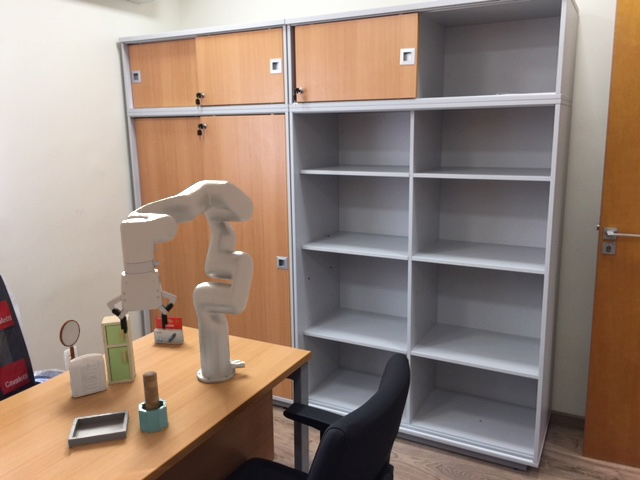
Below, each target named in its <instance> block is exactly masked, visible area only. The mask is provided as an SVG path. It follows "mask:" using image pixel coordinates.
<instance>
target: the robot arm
mask: <svg viewBox="0 0 640 480" xmlns="http://www.w3.org/2000/svg"><path fill="white" fill-rule="evenodd" d="M254 211H255V205H254V202H253V200H252V198H251V197H250V196H249V194H246V192H244V191H243V190H242V189H241V188H240V187H238V186H237V185H236V184H234V183H232V182H230V181H226V180H201V181H198V182H196V183H194V184H193V185H191V186H190V187H187V188H186V189H184V190H183V191H182V192H179V193H178V194H175V195H174V196H170V197H166V198H163V199H159V200H156V201H153V202H150V203H147V204H144V205H143V206H140V207H139V208H137V209H135V210H134V211H132V212H131V213H130V214H129V215H128V216H127V217H126V219H124V220H123V221H122V222H121V223H120V226H119V230H120V231H119V232H120V241H121V251H122V259H123V263H122V264H123V271H122V272H121V277H120V279H121V280H120V294H119V295H117V296H115V297H114V298H112V299H111V300H109V301H107V303H106V306H107V307H108V308H109V310H110V312H111V313H112V315H113V316H117V317H118V318H119V319H120V324H121V330H124V334H126V333H127V330H128V327H127V317H126V314H127V313H128V312H138V311H149V310H157V309H158V310H159V311H160V314H161V316H160V317H161V318H162V329H165V325H168V322H169V319H167V317H168V313H169V312H170V311H171V310H172V309H173V307H174V305H175V304H176V301H177V299H178V297H177V295H176V294H173V293H171V292H168V291H165V290H164V289H163V288H162V280H161V276H160V273H159V269H157V267H161V260H156V259H155V253H154V244H164V243H168V242H171V241H172V240H174V239H175V237H177V234H178V232H179V225H180V224H184V223H185V224H186V223H190V222H192V221H195V219H197V218H198V217H199V216H201V215H202V214H204V217H205V218H206V220H207V223H208V225H209V228H210V240H209V245H208V250H207V253H206V257H205V258H206V259H205V264H204V273H205V274H206V276H207V277H209V278H211V279H216V280H224V281H231V283H226V282H215V281H206V282H205V281H204V282H201V283H199V284H197V286H195V288H194V289H193V292H192V301H193V306H194V309H195V310H194V311H195V313H196V318H197V325H198V340H199V342H198V343H199V354H200V356H199V358H200V369H198V370H197V372H196V378H197V379H198V381H201V382H202V383H207V384H218V383H223V382H227V381H229V380H231V379H232V378H233V377H235V375H236V371H237V370H236V369H244V368H246V363H245V361H241V360H240V359H237V360H233V359H232V358H231V352H230V350H231V349H230V336H229V335H230V333H229V332H230V331H229V322H228V318H227V316H226V315H236V316H237V315H240V314H242V313H243V312H244V311H245V310H246V307H247V305H248V301H249V296H250V291H251V285H252V282H253V281H252V280H253V275H254V267H255V265H254V259H253V258H252V256H251V254H250V253H248V252H246V251H240V250H236V246H237V241H238V237H237V234H236V233H237V232H236V231H235V229H234V227H233V226H232V224H231V222H233V223H234V222H235V223H247V222H248V221H251V219H252V218H253V216H254V214H255V212H254ZM164 298H166V299H168V300H169V303H167V304H166V305H165V304H164V303H163V302H164V301H163V300H164ZM120 302H121V308H122V309H121V310H120V309H118V308H117V307H116V304H118V303H120Z"/></svg>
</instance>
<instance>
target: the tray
mask: <svg viewBox="0 0 640 480" xmlns="http://www.w3.org/2000/svg"><path fill="white" fill-rule="evenodd" d="M129 412H130V411H129V410H122V411H114V412H108V413H100V414H93V415H87V416H80V417H75V418H74V419H73V423H72V425H71V429H70V432H69V436H68V439H67V443H68V449H69V450H70V449H71V450H72V449H73V448H74V447H80V446H85V445H93V444H99V443H100V444H101V443H104V442H105V443H106V442H111V441H117V440H124V439H125V440H126V439H127V438H128V437H127V435H128V431H129V420H130V413H129Z"/></svg>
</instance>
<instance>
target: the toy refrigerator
mask: <svg viewBox="0 0 640 480" xmlns="http://www.w3.org/2000/svg"><path fill="white" fill-rule="evenodd" d="M126 317H127V327H128V330H127V333H126V334H124V330H121V324H120V319H119V318H118V317H117V316H116V315H107V316H104V317H103V319H102V320H101V333H102V334H101V335H102V342H103V350H104V357H105V359H104V360H105V366H106V367H105V368H106V373H107V374H106V376H107V382H108V385H118V384H126V383H134V381H135V378H136V372H137V371H136V364H135V354H134V347H133V337H132V327H131V319H130V314H126Z"/></svg>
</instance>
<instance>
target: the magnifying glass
mask: <svg viewBox="0 0 640 480" xmlns="http://www.w3.org/2000/svg"><path fill="white" fill-rule="evenodd" d="M59 330H60V331H59V341H60V343H61V345H63V346H64V347H67V348H69V351H70V353H69V354H70V361H71V360H72V359H74V358H76V356H75V355H76V353H75V347H74V345H75V344H76V343H77V342H78V340H79V338H80V333H81V328H80V324H79V323H78V321H76V320H74V319H69V320H66V321H65V322H64V323H63V324H62V326H61V328H60V329H59Z"/></svg>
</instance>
